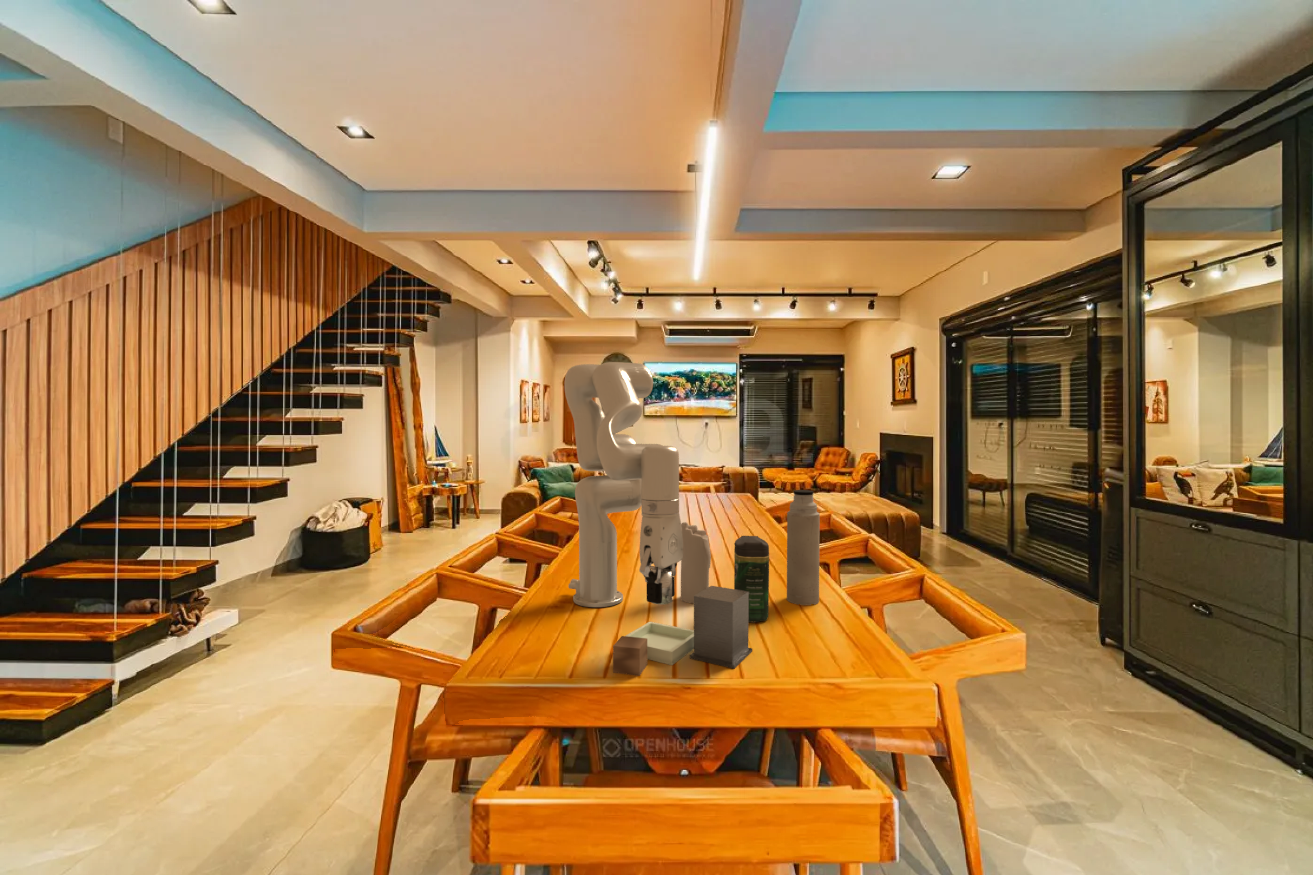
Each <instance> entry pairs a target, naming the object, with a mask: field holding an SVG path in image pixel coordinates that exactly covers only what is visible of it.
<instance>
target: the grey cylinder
mask: <svg viewBox="0 0 1313 875" xmlns="http://www.w3.org/2000/svg"><path fill="white" fill-rule="evenodd" d="M651 571H653V572H654V574H655V573H656V570H653V569H651ZM660 583H662V603H660V604H659V605H669V604H671V603H672V602H673V597H672V570H670V569H661V576H660ZM652 604H654V605H658V604H657V603H652Z"/></svg>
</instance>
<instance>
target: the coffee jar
mask: <svg viewBox="0 0 1313 875" xmlns="http://www.w3.org/2000/svg"><path fill="white" fill-rule="evenodd" d="M733 544H734V549H733V550H734V553H733V554H734V558H733V560H734V569H733V571H734V573H733V575H734V578H733V579H734V581H733V589H736V590H742V591H749V611H748V623H759V622H763V621H767V620H768V619H769V602H770V600H769V599H770V598H769V596H770V593H769V591H770V547H769V546H770V545H769V543H768V542H767V541H766V540H764V539H763V538H760V537H759V536H758V535H741V536H740V537H738V538H737V539H735V541H734V543H733Z"/></svg>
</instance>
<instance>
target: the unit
mask: <svg viewBox="0 0 1313 875" xmlns="http://www.w3.org/2000/svg"><path fill="white" fill-rule="evenodd" d="M748 611H749V591H742V590H736V589H734V588H729V587H722V586H715V585H709V587H708V588H707V589H705V590H703V591H701V592H700V593H698V594H696V595H695V596H694V603H693V630H694V649H693V652H692V653H691V654H689V659H690V660H695V661H699V662H703V663H708V664H712V665H717V666H720V667H721V666H722V667H725V668H730V669H733V670H735V669H736V668H737V666H739V665H740V664H741V663H742V662H743V661H744V660H745V659H746V658H747V657H748V656H749V655H750V654H751V653H752V652H753V648H751V647H749V622H748Z"/></svg>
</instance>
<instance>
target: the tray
mask: <svg viewBox="0 0 1313 875" xmlns="http://www.w3.org/2000/svg"><path fill="white" fill-rule="evenodd" d="M625 636H628V637H638V638H647V661H648V660H649V661H652V662H653V661H654V662H657V663H661V664H664V665H665V664H666V665H669V666H674V664H676V663H677V662H679V660H681V659H682V658H684V657H685V656H686V655H687V654H689V653H691V652H692V651H694V629H689V628H684V627H679V626H673V625H671V624H670V625H668V624H663V623H659V622H656V621H655V622H653V621H648V622H647V623H645V624H644V625H642V626H639V627H638V628H637V629H634V630H633V631H631V632H629V633H628V634H626V635H625Z"/></svg>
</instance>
